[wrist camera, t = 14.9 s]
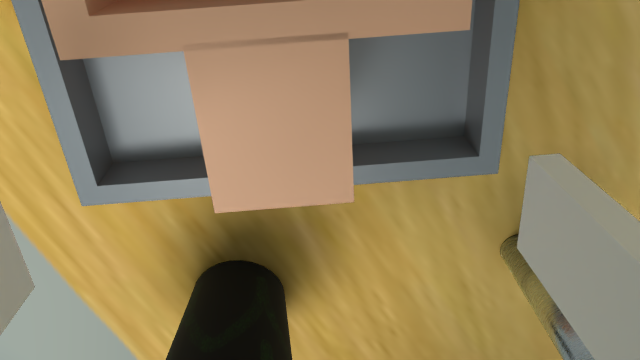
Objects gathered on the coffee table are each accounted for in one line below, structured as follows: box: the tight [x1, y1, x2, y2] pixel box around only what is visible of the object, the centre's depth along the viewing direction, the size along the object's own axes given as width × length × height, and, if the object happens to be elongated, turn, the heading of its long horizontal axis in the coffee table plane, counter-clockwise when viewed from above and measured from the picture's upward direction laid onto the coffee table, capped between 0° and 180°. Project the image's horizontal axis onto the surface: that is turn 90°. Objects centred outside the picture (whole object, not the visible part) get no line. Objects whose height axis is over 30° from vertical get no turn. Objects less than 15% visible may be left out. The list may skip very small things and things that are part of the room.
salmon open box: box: [41, 0, 472, 213], centre depth 18 cm, size 12×13×8 cm
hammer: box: [500, 235, 595, 360], centre depth 25 cm, size 2×5×12 cm, turn 94°
